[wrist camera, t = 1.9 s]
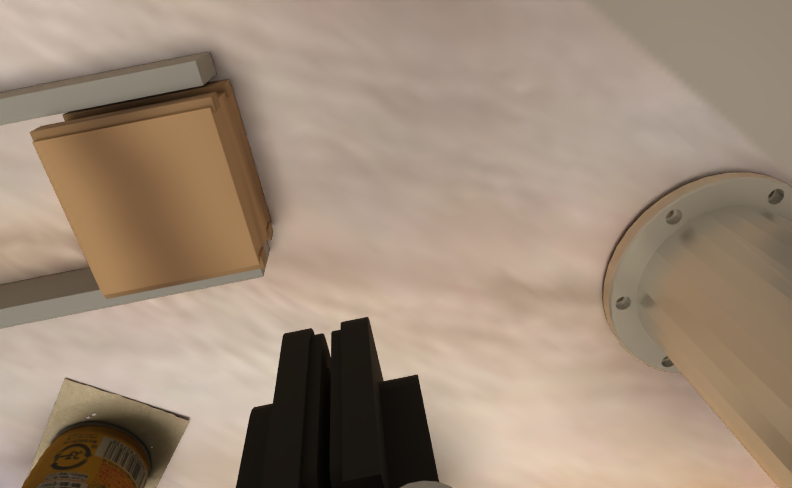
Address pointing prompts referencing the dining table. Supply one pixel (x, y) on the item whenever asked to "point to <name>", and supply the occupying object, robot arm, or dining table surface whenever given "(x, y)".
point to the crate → (159, 188)
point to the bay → (80, 286)
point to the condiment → (103, 442)
